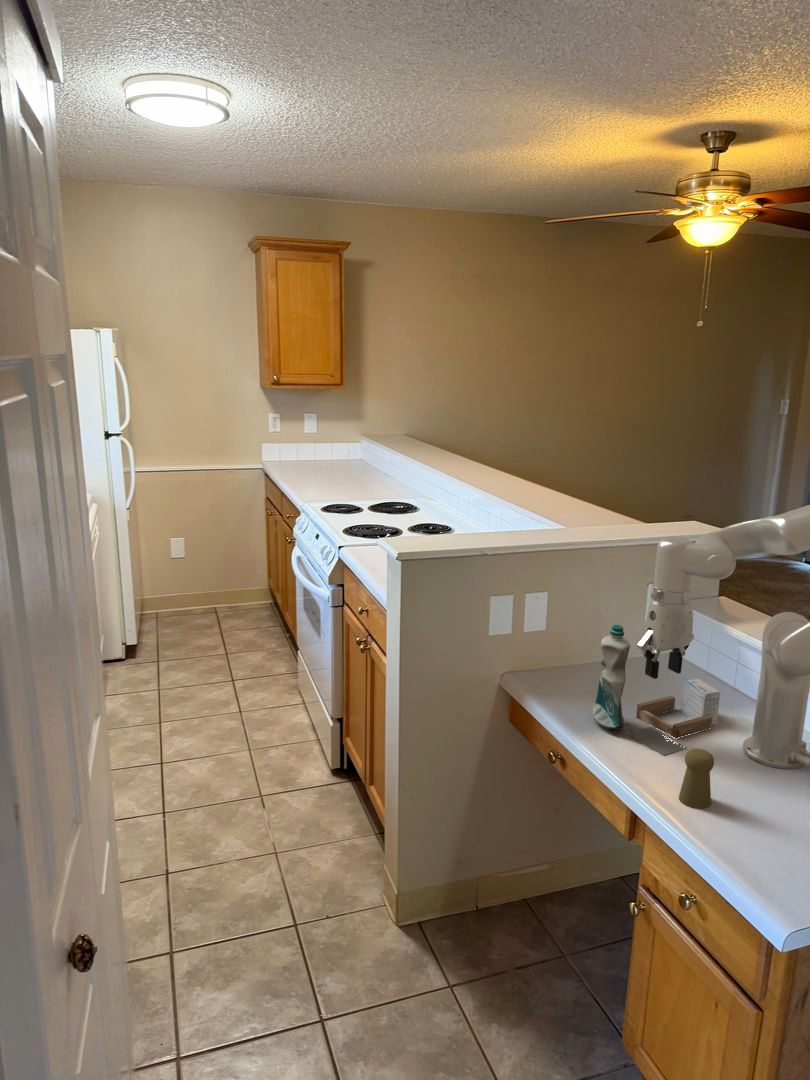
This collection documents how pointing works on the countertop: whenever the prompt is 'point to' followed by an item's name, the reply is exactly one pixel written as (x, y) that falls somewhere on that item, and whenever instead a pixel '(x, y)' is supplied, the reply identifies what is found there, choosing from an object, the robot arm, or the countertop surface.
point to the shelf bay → (661, 705)
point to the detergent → (611, 680)
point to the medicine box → (700, 700)
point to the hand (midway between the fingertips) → (662, 673)
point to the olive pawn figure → (697, 779)
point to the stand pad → (655, 741)
